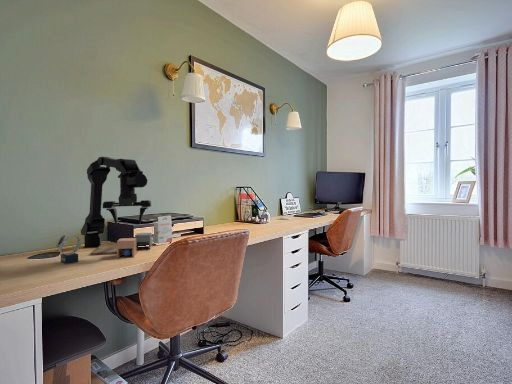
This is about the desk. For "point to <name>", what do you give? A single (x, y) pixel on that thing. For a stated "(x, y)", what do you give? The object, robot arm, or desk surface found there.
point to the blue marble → (127, 252)
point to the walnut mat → (104, 251)
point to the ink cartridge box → (162, 230)
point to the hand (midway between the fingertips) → (128, 224)
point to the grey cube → (143, 239)
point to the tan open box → (126, 246)
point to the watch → (68, 257)
